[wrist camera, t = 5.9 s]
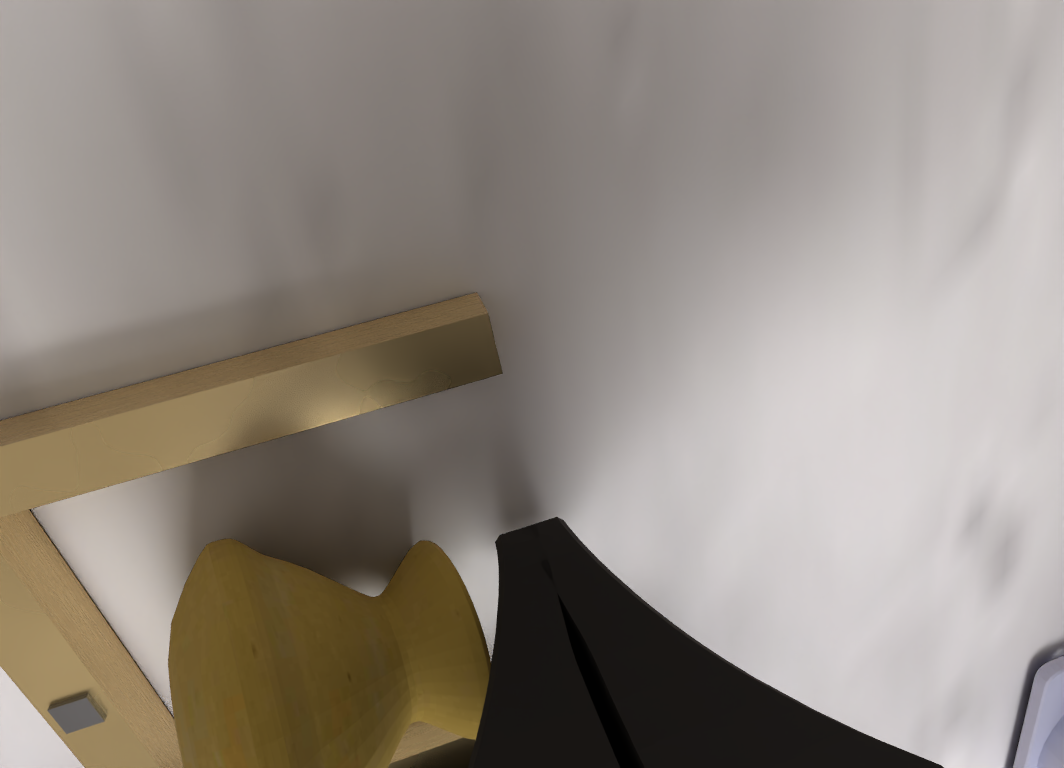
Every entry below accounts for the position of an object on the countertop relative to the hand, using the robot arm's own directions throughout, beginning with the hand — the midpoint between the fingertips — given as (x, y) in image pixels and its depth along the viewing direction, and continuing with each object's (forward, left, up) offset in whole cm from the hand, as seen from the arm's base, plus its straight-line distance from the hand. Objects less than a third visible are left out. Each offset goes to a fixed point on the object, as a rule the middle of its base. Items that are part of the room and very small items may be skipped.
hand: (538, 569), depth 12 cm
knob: (+4, 0, -1) cm, 4 cm away
